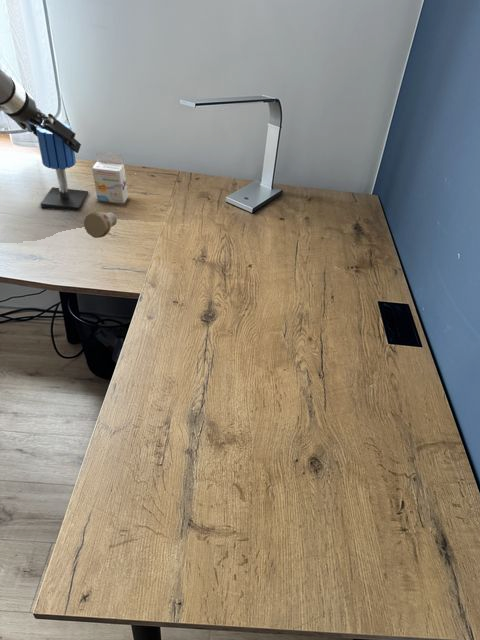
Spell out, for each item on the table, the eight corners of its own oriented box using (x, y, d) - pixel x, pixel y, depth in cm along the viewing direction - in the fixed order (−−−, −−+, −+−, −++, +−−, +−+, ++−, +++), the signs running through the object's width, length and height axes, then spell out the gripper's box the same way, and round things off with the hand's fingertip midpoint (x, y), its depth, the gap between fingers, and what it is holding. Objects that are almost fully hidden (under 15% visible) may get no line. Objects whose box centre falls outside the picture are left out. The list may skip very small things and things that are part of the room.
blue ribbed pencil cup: (38, 167, 143) (31, 131, 137) (48, 154, 150) (42, 120, 143) (70, 170, 144) (65, 135, 137) (79, 158, 151) (74, 123, 144)
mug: (125, 224, 149) (118, 207, 139) (106, 250, 146) (98, 234, 137) (103, 212, 149) (95, 194, 140) (84, 238, 147) (75, 221, 137)
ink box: (97, 203, 157) (89, 157, 146) (102, 196, 160) (94, 150, 150) (124, 206, 157) (117, 161, 146) (129, 198, 160) (122, 153, 150)
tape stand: (41, 208, 151) (30, 150, 139) (53, 191, 159) (42, 136, 147) (78, 212, 152) (70, 155, 140) (88, 195, 160) (81, 140, 148)
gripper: (-29, 104, 126) (27, 147, 148) (46, 124, 122) (92, 165, 144) (-19, 77, 126) (36, 123, 148) (56, 96, 122) (100, 141, 144)
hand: (63, 144), depth 146 cm, fingers closed on blue ribbed pencil cup, 9 cm apart
